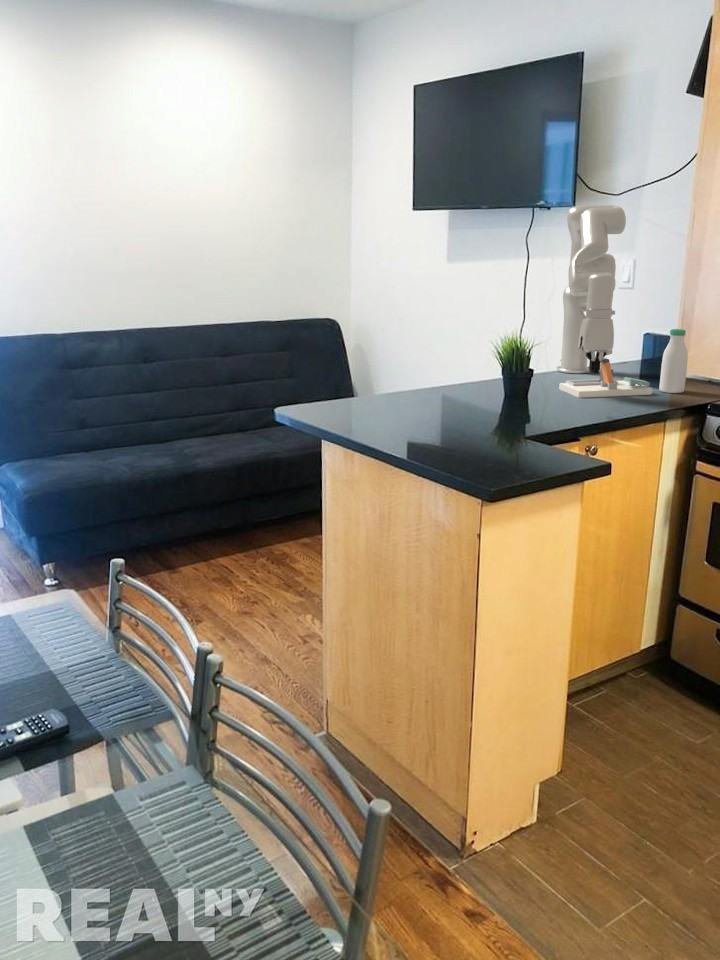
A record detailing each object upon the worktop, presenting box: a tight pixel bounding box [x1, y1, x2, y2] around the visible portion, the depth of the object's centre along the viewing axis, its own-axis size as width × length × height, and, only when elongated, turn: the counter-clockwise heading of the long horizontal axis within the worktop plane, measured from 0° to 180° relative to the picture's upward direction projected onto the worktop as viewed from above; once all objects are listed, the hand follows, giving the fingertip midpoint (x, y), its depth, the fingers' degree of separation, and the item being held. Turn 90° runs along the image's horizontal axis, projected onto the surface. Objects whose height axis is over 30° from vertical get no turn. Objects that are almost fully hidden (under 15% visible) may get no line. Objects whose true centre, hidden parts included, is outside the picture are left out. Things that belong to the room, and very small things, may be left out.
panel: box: [558, 378, 653, 399], centre depth 265 cm, size 15×25×4 cm, turn 100°
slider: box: [599, 367, 614, 382], centre depth 269 cm, size 3×3×5 cm
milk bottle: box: [658, 328, 689, 394], centre depth 263 cm, size 8×8×20 cm
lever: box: [600, 357, 614, 384], centre depth 260 cm, size 4×2×8 cm, turn 10°
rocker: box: [623, 376, 651, 387], centre depth 262 cm, size 6×7×1 cm
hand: (594, 373), depth 259 cm, fingers closed
